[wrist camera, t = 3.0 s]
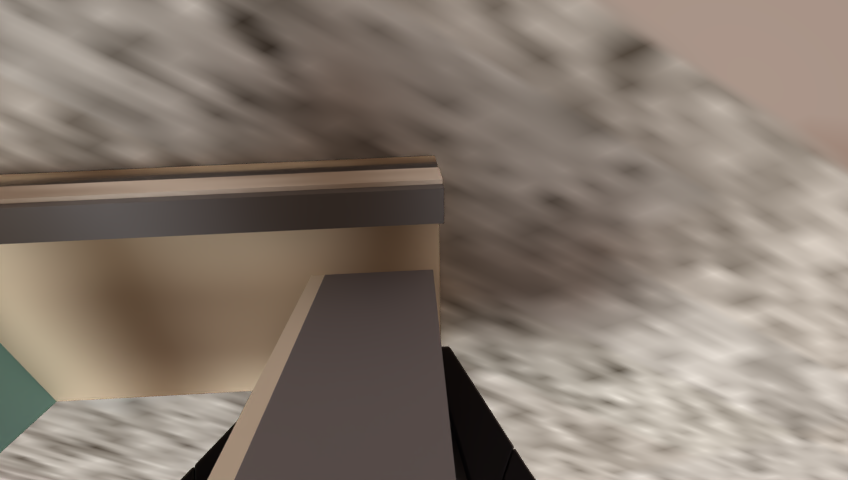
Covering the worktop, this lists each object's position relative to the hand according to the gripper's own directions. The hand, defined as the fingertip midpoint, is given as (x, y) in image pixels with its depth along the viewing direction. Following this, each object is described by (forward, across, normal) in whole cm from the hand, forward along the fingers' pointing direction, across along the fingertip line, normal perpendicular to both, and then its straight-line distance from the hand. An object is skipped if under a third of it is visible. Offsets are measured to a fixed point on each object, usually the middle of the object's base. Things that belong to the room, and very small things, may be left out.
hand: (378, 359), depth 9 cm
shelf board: (+2, +8, -2) cm, 9 cm away
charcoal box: (+1, 0, 0) cm, 1 cm away
